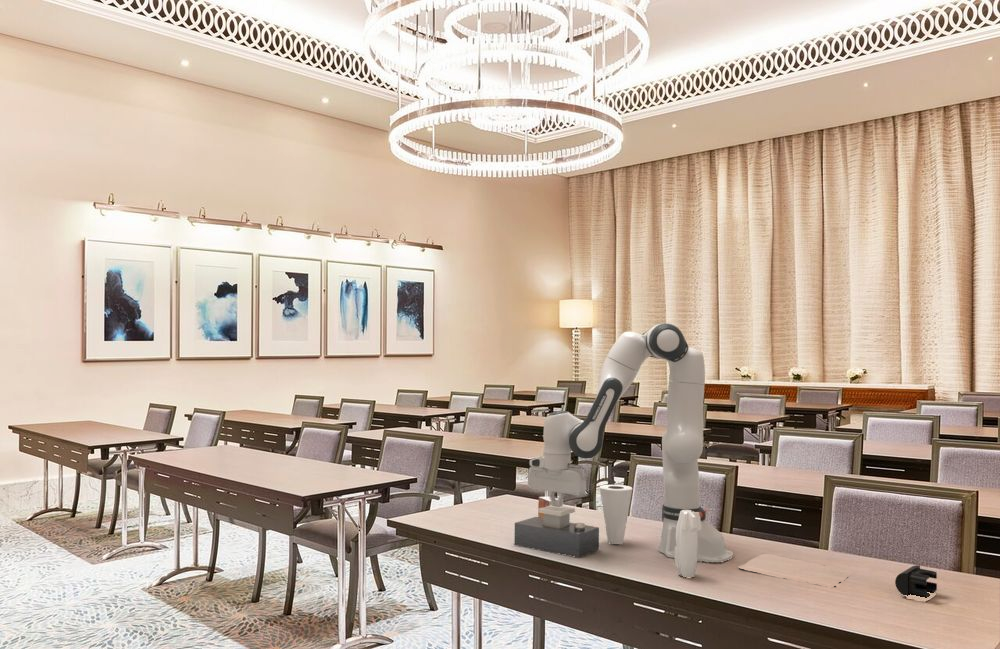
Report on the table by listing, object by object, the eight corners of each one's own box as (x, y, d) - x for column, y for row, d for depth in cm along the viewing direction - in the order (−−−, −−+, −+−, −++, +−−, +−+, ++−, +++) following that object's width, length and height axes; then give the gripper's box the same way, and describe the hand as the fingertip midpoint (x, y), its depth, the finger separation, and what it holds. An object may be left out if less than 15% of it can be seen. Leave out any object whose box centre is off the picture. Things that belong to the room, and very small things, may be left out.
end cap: (907, 588, 198) (907, 563, 199) (937, 595, 193) (937, 568, 193) (894, 596, 191) (894, 570, 191) (925, 603, 186) (925, 576, 186)
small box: (537, 526, 265) (538, 496, 265) (551, 525, 267) (551, 495, 268) (548, 531, 257) (548, 500, 258) (562, 530, 260) (562, 499, 260)
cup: (622, 549, 235) (622, 491, 236) (593, 543, 241) (593, 487, 242) (637, 542, 243) (638, 487, 244) (609, 537, 250) (609, 483, 250)
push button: (574, 530, 237) (574, 508, 237) (560, 535, 230) (560, 512, 231) (552, 526, 242) (552, 504, 242) (537, 531, 235) (538, 508, 236)
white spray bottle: (705, 579, 204) (689, 571, 211) (705, 512, 205) (689, 507, 212) (685, 581, 202) (669, 573, 209) (685, 514, 203) (669, 508, 209)
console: (598, 549, 233) (599, 522, 234) (579, 557, 224) (579, 529, 224) (535, 537, 248) (535, 511, 248) (514, 544, 238) (514, 517, 239)
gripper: (590, 464, 233) (589, 509, 233) (536, 458, 246) (535, 500, 245) (579, 466, 228) (579, 512, 228) (525, 460, 241) (524, 503, 240)
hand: (556, 506), depth 236 cm, fingers closed
